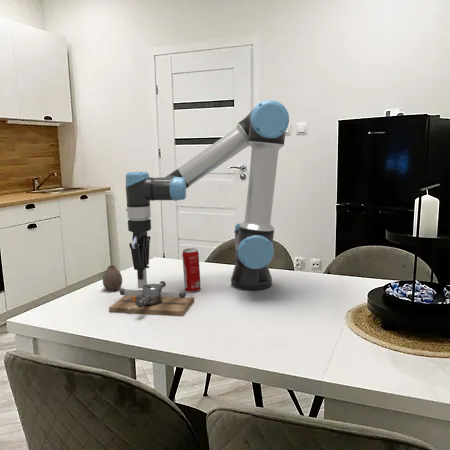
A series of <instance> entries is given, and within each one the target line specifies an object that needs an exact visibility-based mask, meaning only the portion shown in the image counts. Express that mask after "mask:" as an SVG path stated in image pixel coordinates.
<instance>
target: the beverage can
mask: <svg viewBox="0 0 450 450" xmlns="http://www.w3.org/2000/svg"><path fill="white" fill-rule="evenodd" d="M181 257H182V266H183V267H182V268H183V283H184V291H186V292H187V293H197V292H198V291H201V286H202V285H201V270H200V255H199V250H198V249H197V248H194V247H191V248H185V249H183V251H182V256H181Z"/></svg>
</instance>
